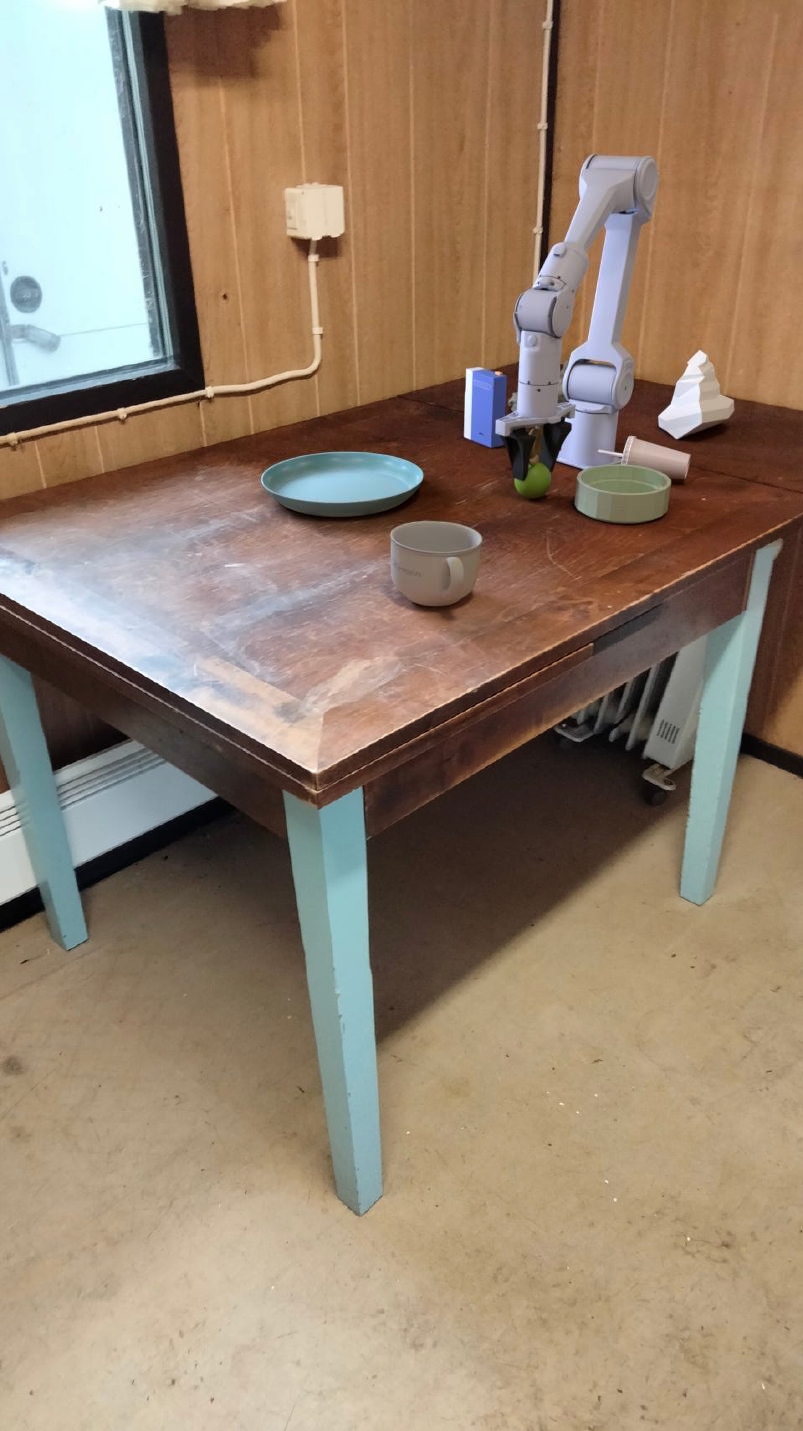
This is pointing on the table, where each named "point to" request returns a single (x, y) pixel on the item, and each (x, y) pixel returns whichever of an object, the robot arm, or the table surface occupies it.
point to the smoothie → (653, 457)
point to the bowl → (622, 493)
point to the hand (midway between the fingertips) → (532, 474)
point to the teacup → (434, 561)
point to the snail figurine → (535, 470)
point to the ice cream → (696, 400)
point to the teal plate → (342, 483)
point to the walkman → (484, 405)
